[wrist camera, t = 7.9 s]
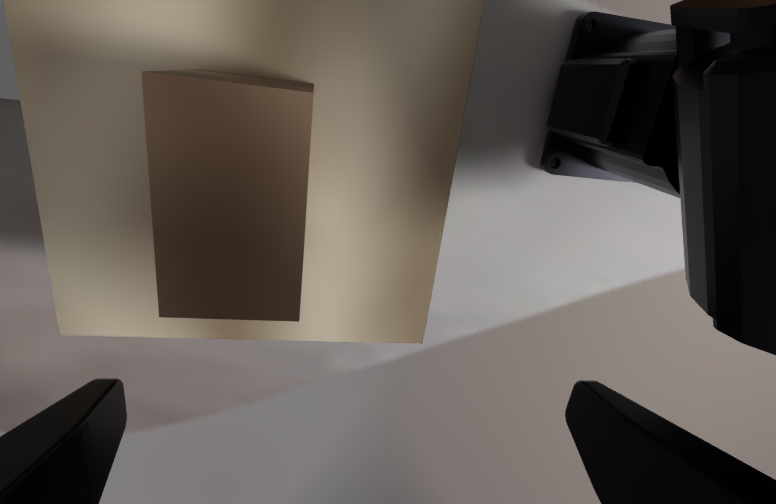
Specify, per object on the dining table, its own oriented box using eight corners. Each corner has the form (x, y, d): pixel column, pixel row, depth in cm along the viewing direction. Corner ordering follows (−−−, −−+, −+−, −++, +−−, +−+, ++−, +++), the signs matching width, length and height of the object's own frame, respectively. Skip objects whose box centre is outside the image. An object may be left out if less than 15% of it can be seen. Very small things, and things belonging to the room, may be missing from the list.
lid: (478, -25, 13) (580, -83, 8) (416, 328, 17) (458, 436, 12) (9, -112, 11) (-258, -267, 6) (75, 318, 15) (-44, 444, 10)
